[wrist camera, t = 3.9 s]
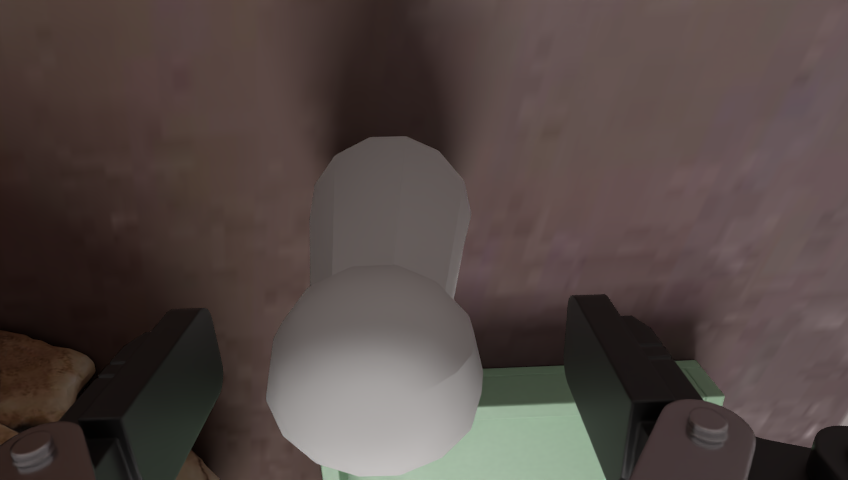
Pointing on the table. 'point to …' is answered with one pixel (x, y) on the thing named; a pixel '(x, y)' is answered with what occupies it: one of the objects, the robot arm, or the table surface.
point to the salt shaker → (380, 316)
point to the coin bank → (51, 390)
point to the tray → (526, 431)
